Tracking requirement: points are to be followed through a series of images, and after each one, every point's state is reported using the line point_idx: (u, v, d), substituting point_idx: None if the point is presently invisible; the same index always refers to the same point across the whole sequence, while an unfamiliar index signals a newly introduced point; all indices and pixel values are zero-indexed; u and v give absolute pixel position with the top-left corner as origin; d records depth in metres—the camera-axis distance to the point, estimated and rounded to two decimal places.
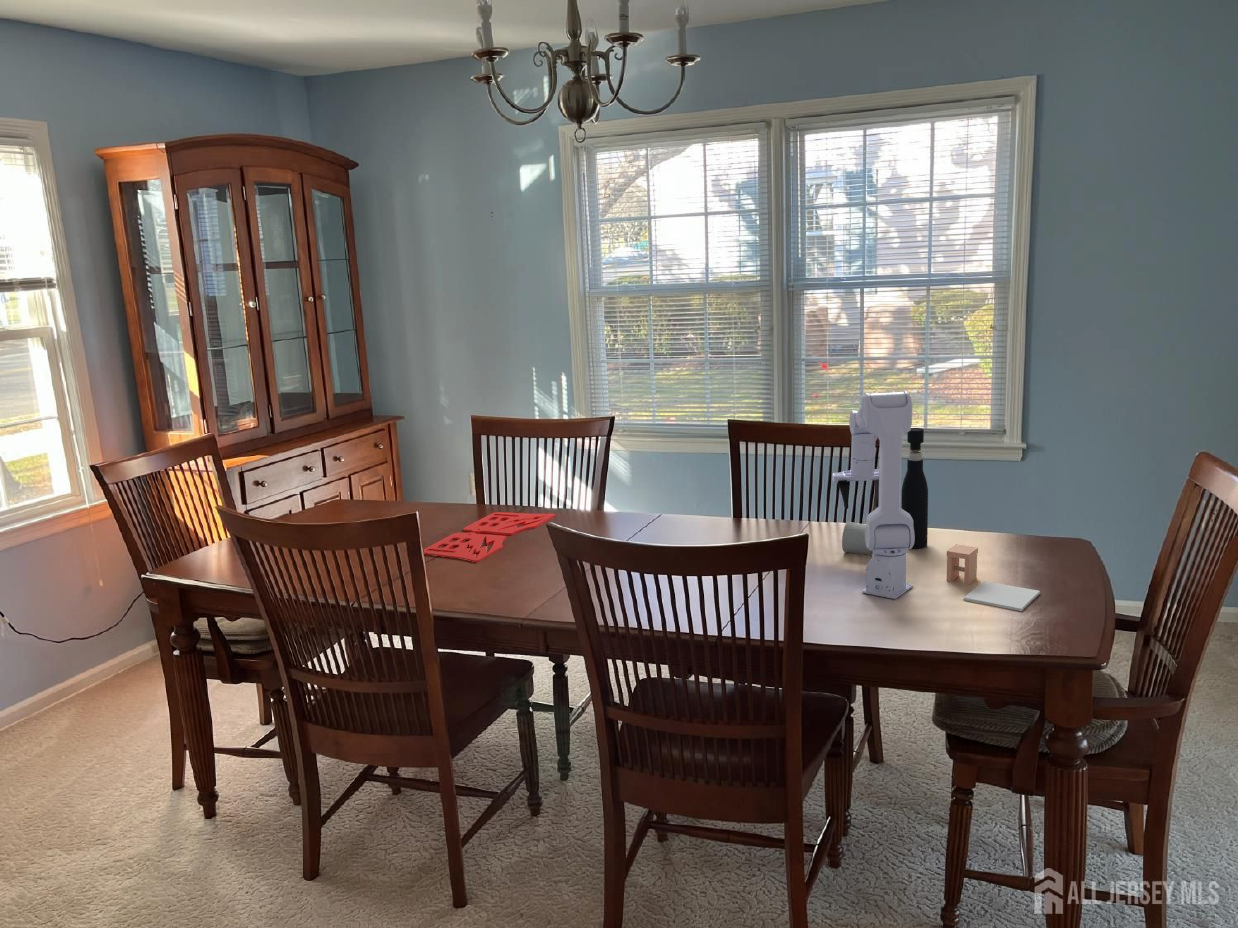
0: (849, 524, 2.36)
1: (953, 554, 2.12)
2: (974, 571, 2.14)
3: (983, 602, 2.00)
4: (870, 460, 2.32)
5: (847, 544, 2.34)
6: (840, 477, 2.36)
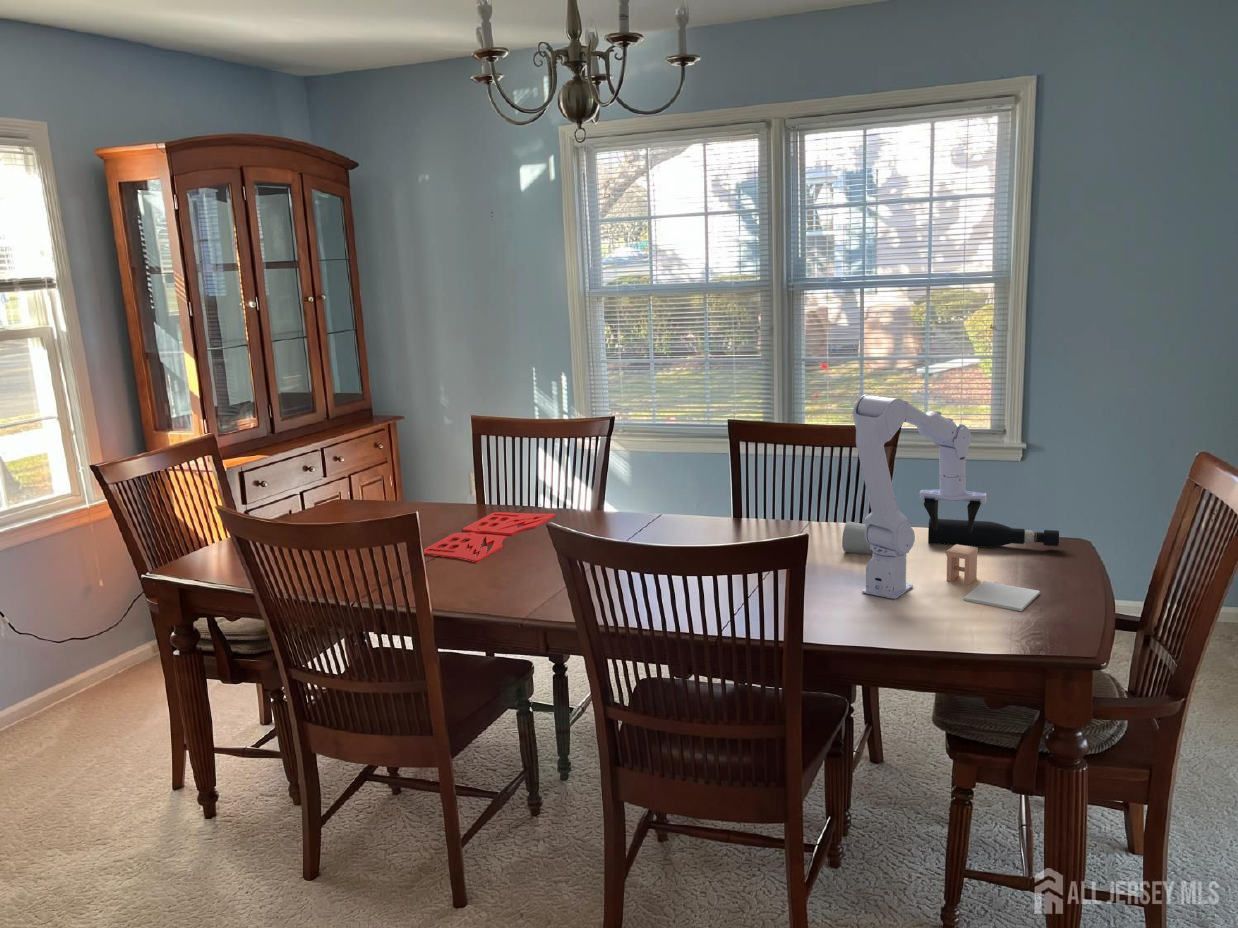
0: (849, 524, 2.36)
1: (953, 554, 2.12)
2: (974, 571, 2.14)
3: (983, 602, 2.00)
4: (956, 477, 2.15)
5: (848, 543, 2.35)
6: (926, 494, 2.20)
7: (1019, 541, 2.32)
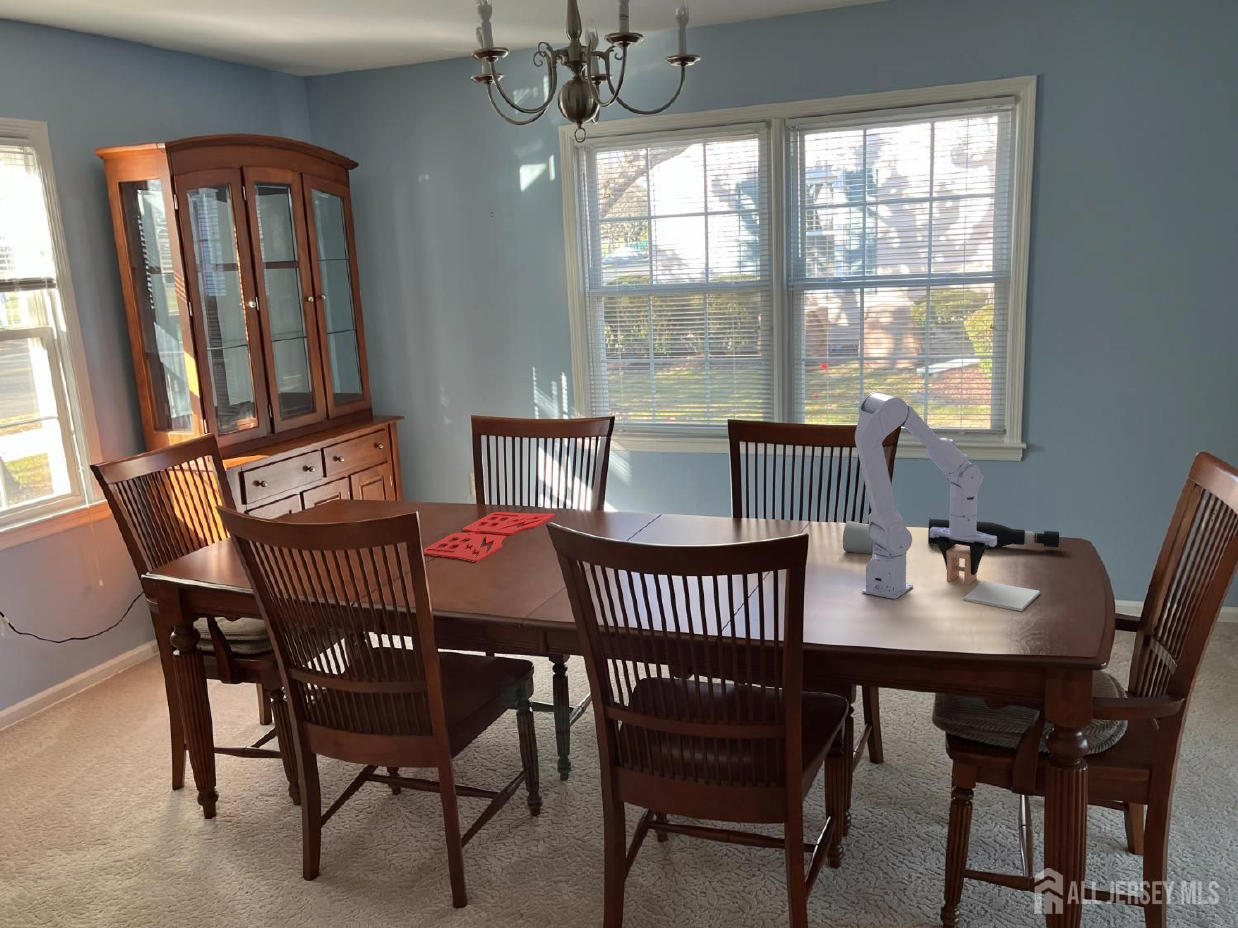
0: (850, 523, 2.36)
1: (953, 554, 2.12)
2: None
3: (983, 602, 2.00)
4: (964, 517, 2.09)
5: (848, 543, 2.35)
6: (935, 531, 2.15)
7: (1019, 543, 2.32)
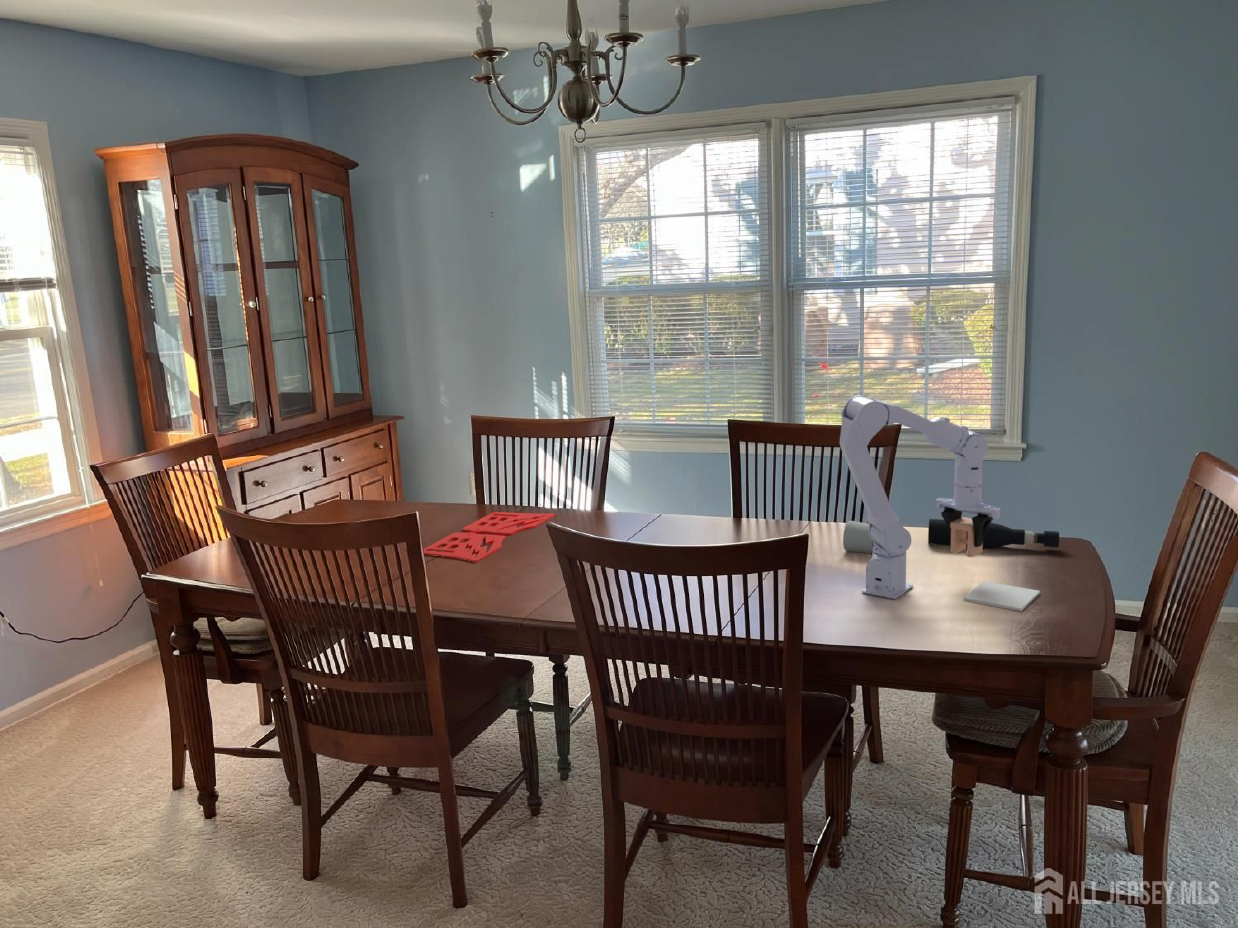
0: (850, 523, 2.37)
1: (956, 525, 2.10)
2: None
3: (983, 602, 2.00)
4: (967, 488, 2.06)
5: (849, 542, 2.35)
6: (941, 502, 2.13)
7: (1019, 543, 2.32)
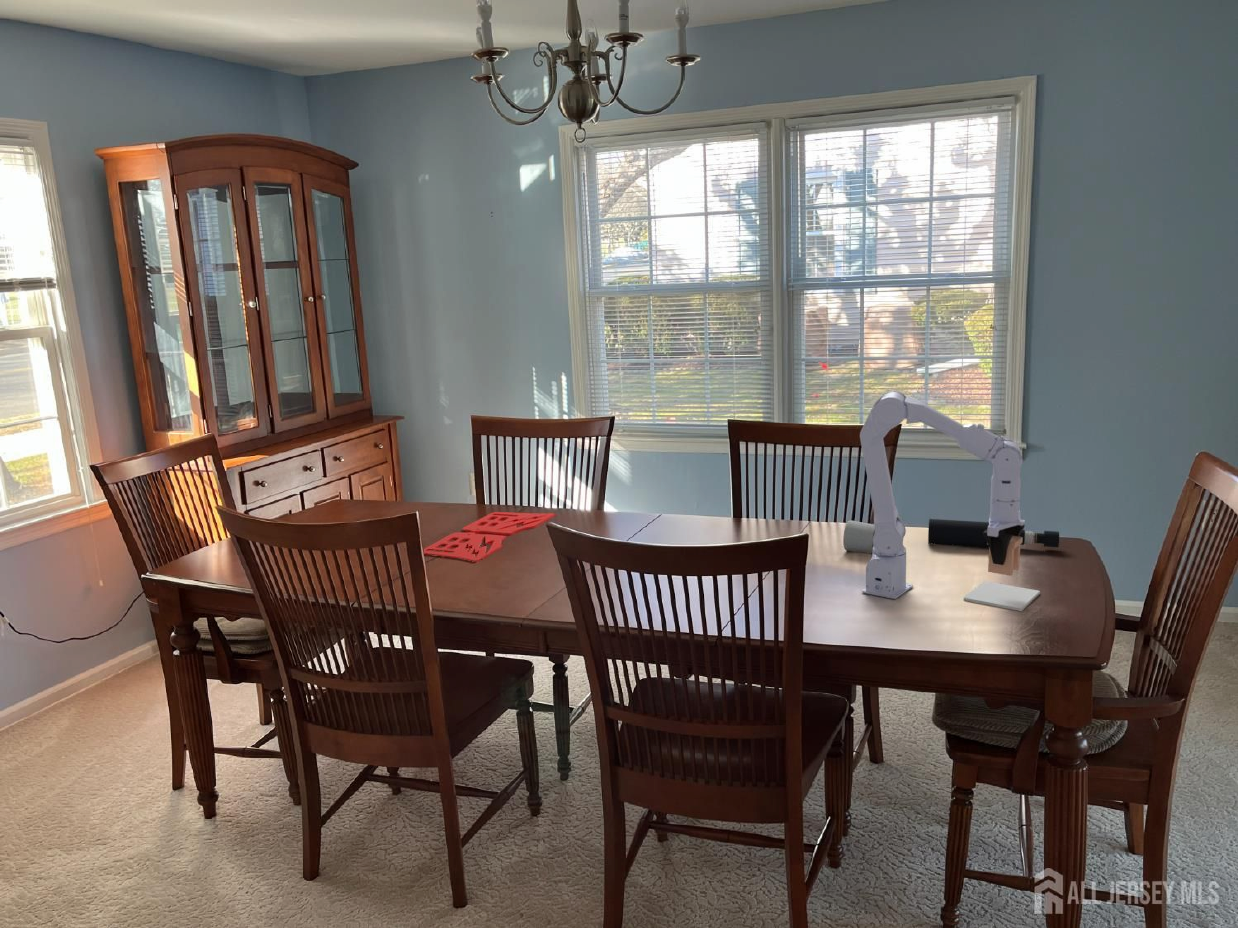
0: (850, 522, 2.37)
1: None
2: (1004, 564, 1.99)
3: (983, 602, 2.00)
4: None
5: (849, 542, 2.36)
6: None
7: None
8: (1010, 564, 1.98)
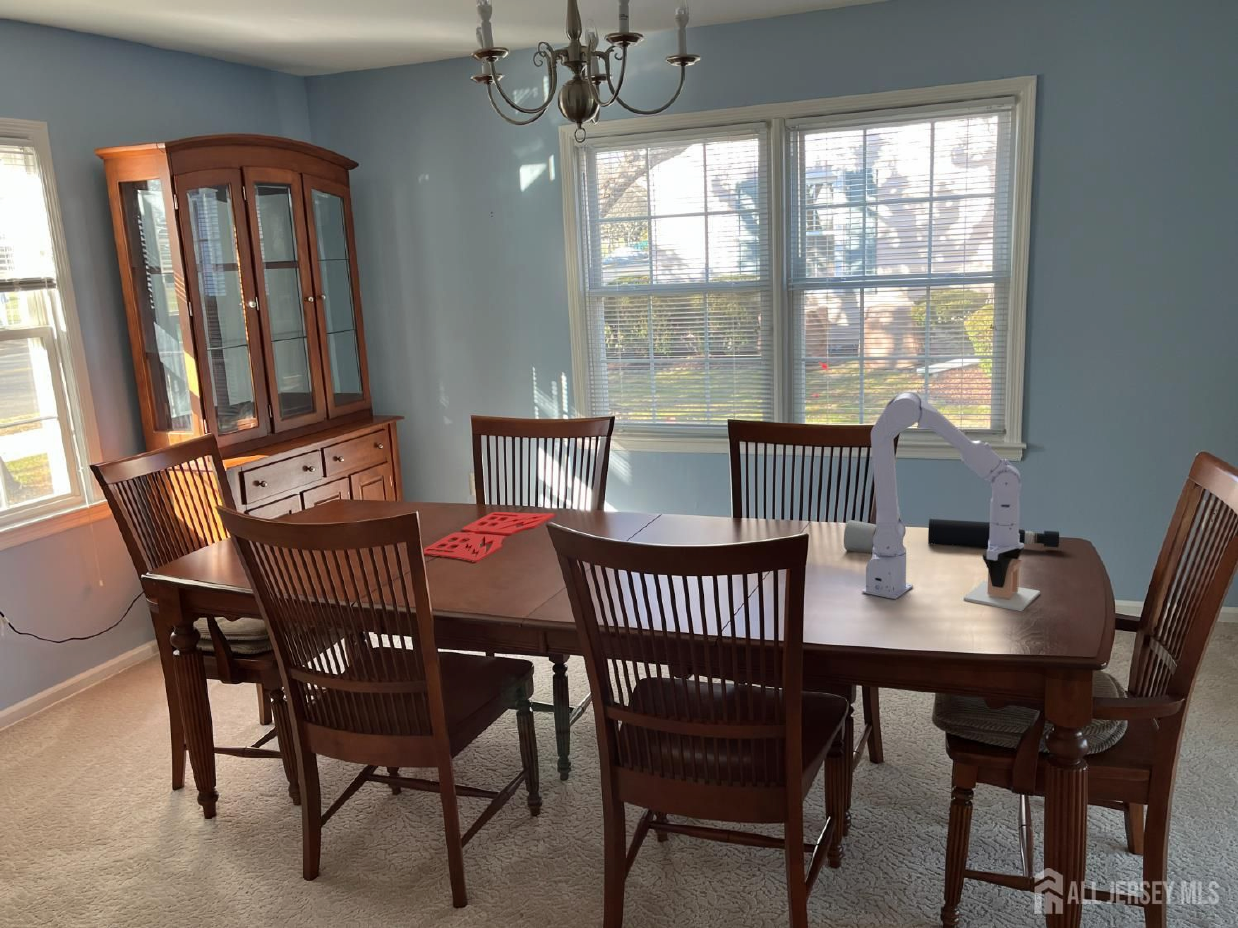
0: (851, 522, 2.37)
1: None
2: (1003, 587, 2.00)
3: (983, 602, 2.00)
4: (990, 521, 2.01)
5: (849, 542, 2.36)
6: None
7: None
8: (1009, 587, 2.00)
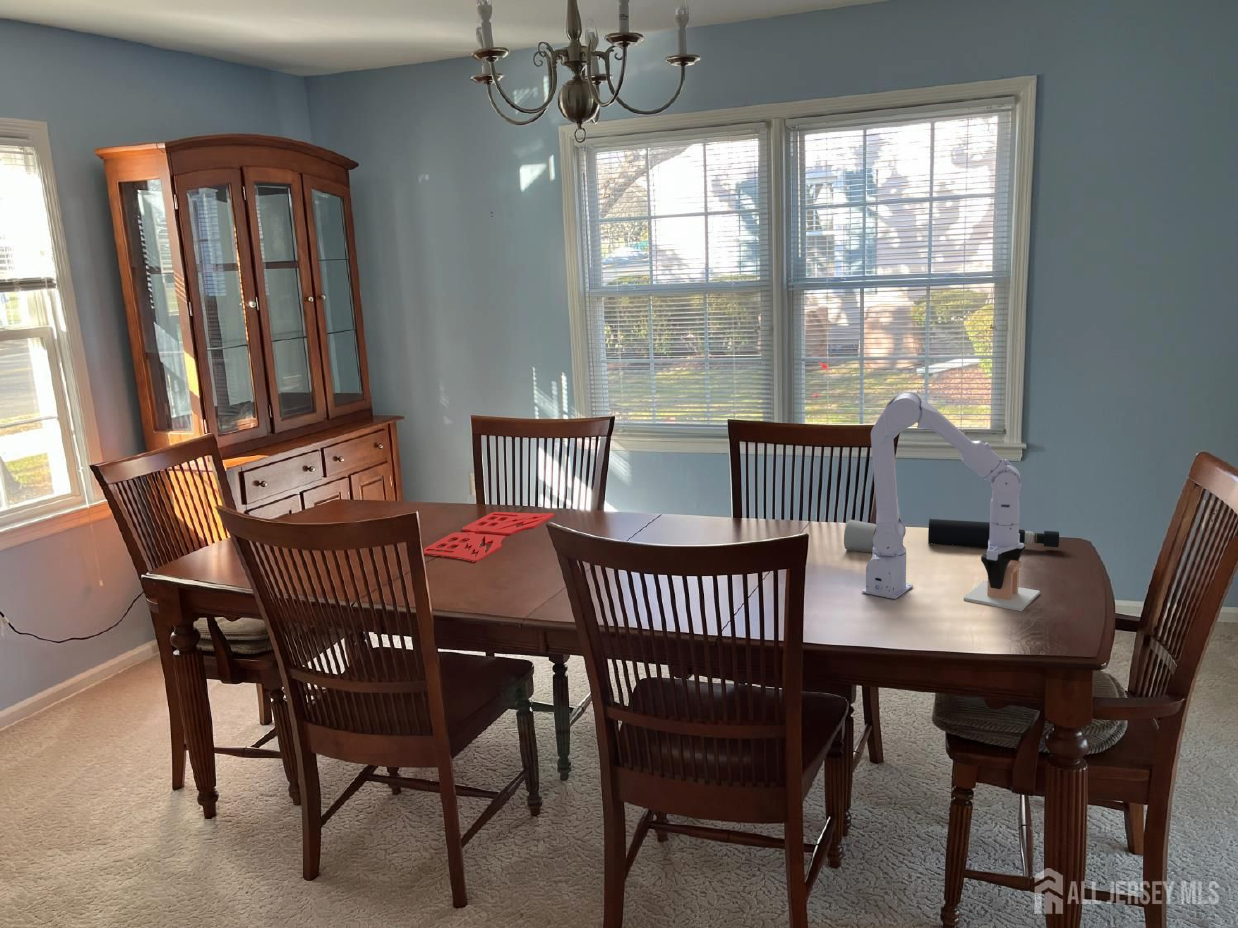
0: (851, 522, 2.37)
1: None
2: (1003, 589, 2.00)
3: (983, 602, 2.00)
4: (990, 521, 2.01)
5: (849, 541, 2.36)
6: None
7: None
8: (1009, 588, 2.00)
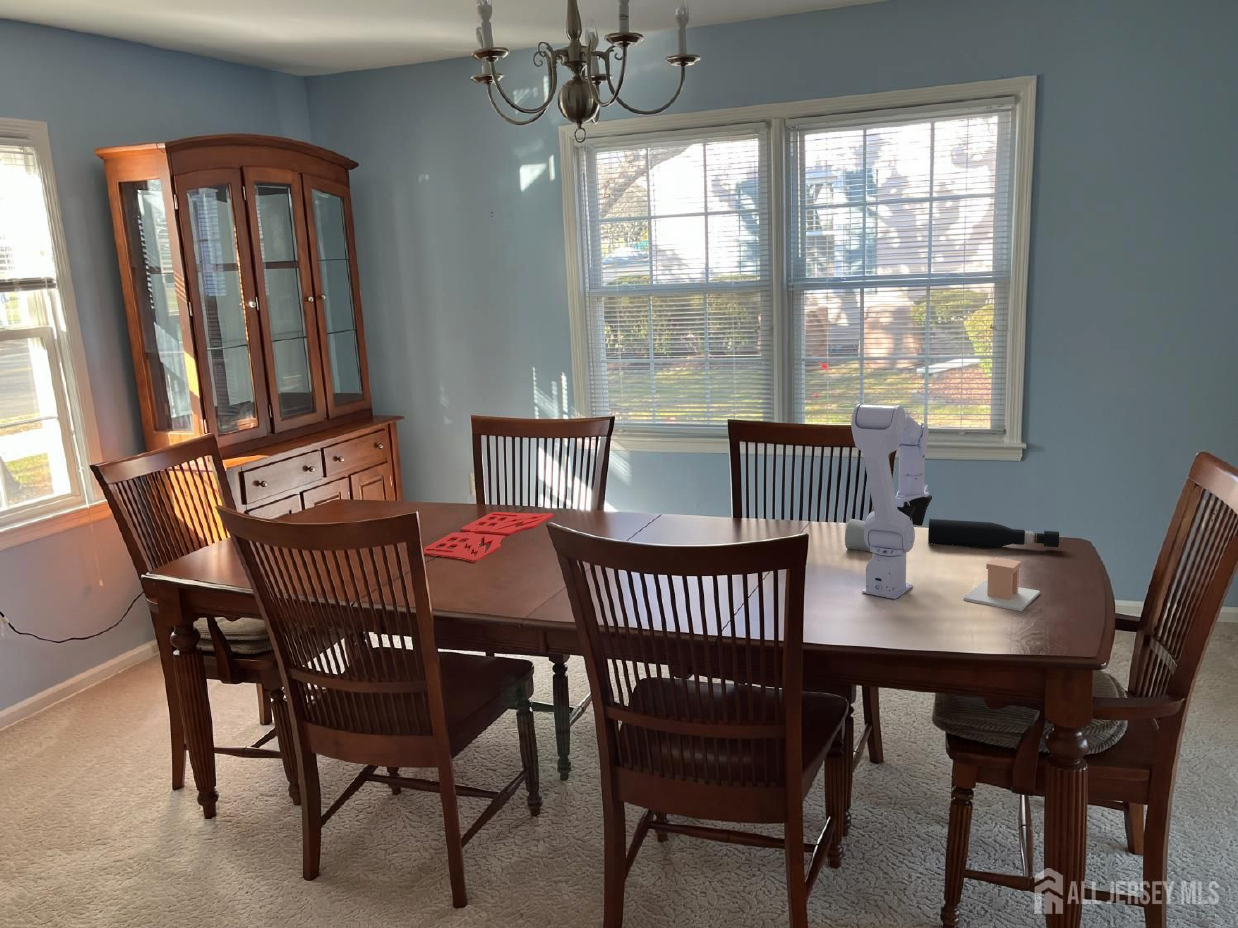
0: (852, 521, 2.38)
1: None
2: (1003, 589, 2.00)
3: (983, 602, 2.00)
4: None
5: (850, 540, 2.37)
6: None
7: (1019, 543, 2.32)
8: (1009, 588, 2.00)
